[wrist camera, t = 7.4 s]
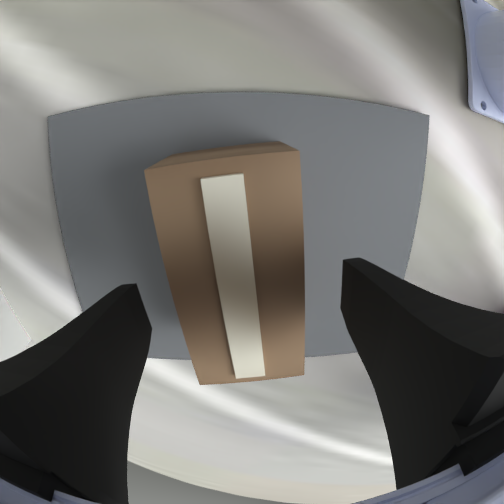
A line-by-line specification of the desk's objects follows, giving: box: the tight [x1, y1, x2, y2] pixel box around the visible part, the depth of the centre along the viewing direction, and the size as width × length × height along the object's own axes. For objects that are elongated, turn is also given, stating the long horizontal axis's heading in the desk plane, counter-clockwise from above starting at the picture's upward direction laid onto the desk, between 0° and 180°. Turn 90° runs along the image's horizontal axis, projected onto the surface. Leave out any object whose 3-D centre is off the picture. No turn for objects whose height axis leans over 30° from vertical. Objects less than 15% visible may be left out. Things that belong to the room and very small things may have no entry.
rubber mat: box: [48, 92, 429, 360], centre depth 14 cm, size 18×14×1 cm
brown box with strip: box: [144, 141, 305, 385], centre depth 12 cm, size 9×4×4 cm, turn 6°
